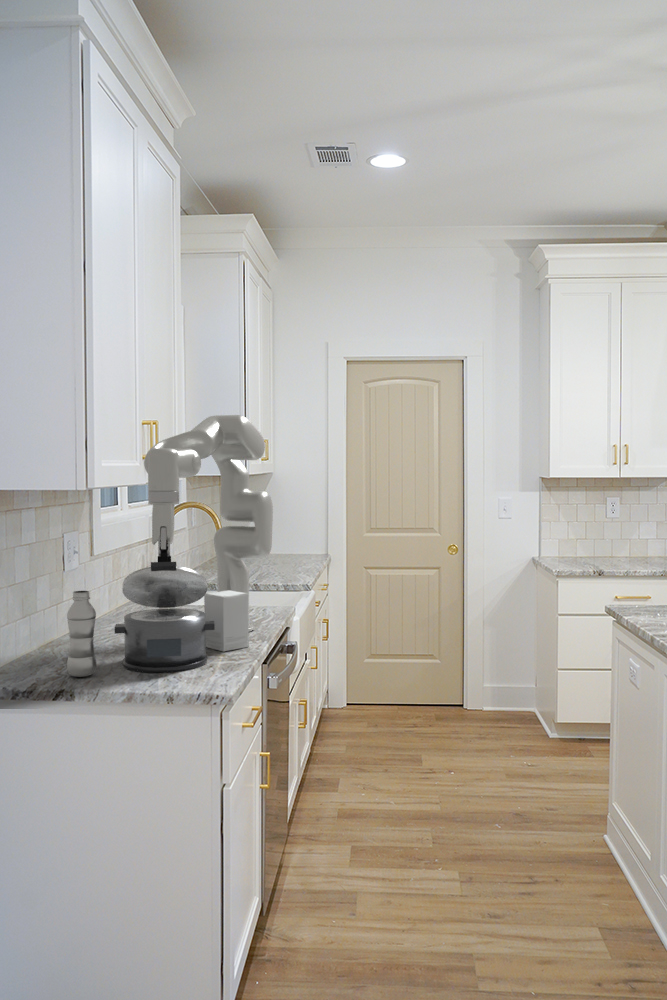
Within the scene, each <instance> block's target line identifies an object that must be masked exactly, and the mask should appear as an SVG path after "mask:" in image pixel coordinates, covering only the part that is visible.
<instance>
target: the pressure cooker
mask: <svg viewBox="0 0 667 1000" xmlns="http://www.w3.org/2000/svg"><path fill="white" fill-rule="evenodd" d="M123 620H124V622H123V623H115V625H114V634H124V658H123V660H122V666H123V668H124V669H126V670H129V671H132V672H137V673H146V674H150V673H151V674H166V673H178V672H186V671H189V670H194V669H198V668H200V667H202V666H204V665H206V664H207V663H208V654H207V650H206V649H207V647H206V630H215V624H214V621H206V616H205V611H202V610H198V609H194V608H193V609H191V608H179V607H172V608H151V609H144V610H143V609H142V610H138V611H134V612H131V613H128V614H127V613H126V614H125V615H124V619H123Z"/></svg>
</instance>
